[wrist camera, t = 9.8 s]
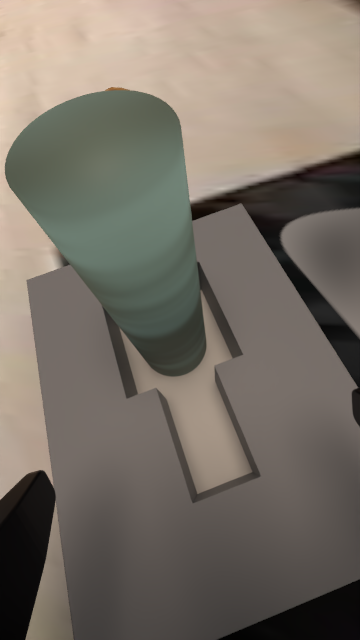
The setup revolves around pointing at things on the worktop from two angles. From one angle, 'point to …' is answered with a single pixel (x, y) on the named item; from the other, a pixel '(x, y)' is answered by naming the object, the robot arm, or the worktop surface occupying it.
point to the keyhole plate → (199, 453)
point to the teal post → (120, 215)
